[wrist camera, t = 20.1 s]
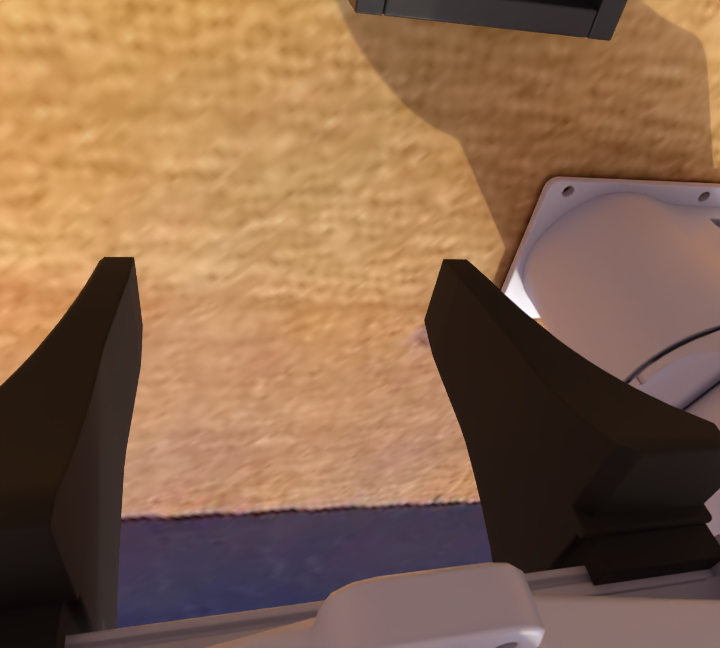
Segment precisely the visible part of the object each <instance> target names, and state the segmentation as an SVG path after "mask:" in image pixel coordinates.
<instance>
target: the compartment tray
mask: <svg viewBox="0 0 720 648" xmlns="http://www.w3.org/2000/svg"><path fill="white" fill-rule="evenodd" d="M349 2H350V4H351V6H352V7H353V9H354V11H355V12H356V13H364V14H373V15H382V14H384V15H385V16H393V17H402V18H412V19H421V20H430V21H439V22H448V23H457V24H466V25H475V26H484V27H493V28H502V29H511V30H520V31H529V32H538V33H547V34H556V35H565V36H575V37H587V38H590V39H599V40H608V41H609V40H611V38H612V36H613V33H614V31H615V28H616V26H617V24H618V21H619V19H620V17H621V14H622V12H623V9H624V7H625V5H626V2H627V0H349Z"/></svg>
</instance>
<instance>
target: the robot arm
mask: <svg viewBox="0 0 720 648" xmlns="http://www.w3.org/2000/svg"><path fill="white" fill-rule="evenodd" d="M568 186H570V187H569V189H568V190H566V191H564V192H563V190H564V189H565V188H566V187H568ZM702 193H703V194H702ZM701 194H702V195H701ZM532 318H541V319H542V321H543V323H544V324H545V326H546V328H547V330H548V331H549V332H548V331H547V330H546V329H544V328H543V327H542V326H541V325H539V324H538V323H537V322H536V321H535V320H533V319H532ZM425 325H426V329H427V334H428V339H429V343H430V347H431V351H432V355H433V358H434V360H435V363H436V366H437V368H438V371H439V374H440V376H441V379H442V381H443V384H444V386H445V389H446V392H447V394H448V397H449V399H450V402H451V404H452V407H453V409H454V412H455V414H456V417H457V420H458V422H459V425H460V427H461V430H462V433H463V436H464V439H465V442H466V446H467V449H468V453H469V457H470V461H471V464H472V468H473V472H474V476H475V480H476V484H477V488H478V493H479V497H480V501H481V505H482V510H483V515H484V519H485V524H486V529H487V534H488V539H489V544H490V549H491V555H492V561H493V563H480V564H472V565H465V566H457V567H449V568H441V569H433V570H426V571H418V572H410V573H402V574H394V575H386V576H379V577H374V578H369V579H365V580H361V581H357V582H353V583H350V584H348V585H346V586H344V587H342V588H340V589H338V590H336V591H334V592H332V593H331V594H330V596H329V597H328V598H327V599H326V600H325V601H318V602H311V603H303V604H296V605H289V606H281V607H274V608H266V609H259V610H252V611H244V612H237V613H229V614H222V615H215V616H207V617H200V618H192V619H185V620H178V621H170V622H163V623H155V624H148V625H141V626H133V627H126V628H118V629H116V627H117V595H118V571H119V547H120V528H121V509H122V493H123V477H124V464H125V456H126V448H127V443H128V437H129V431H130V425H131V420H132V414H133V408H134V403H135V397H136V391H137V385H138V379H139V373H140V367H141V353H142V329H143V324H142V316H141V308H140V300H139V292H138V284H137V276H136V268H135V260H134V257H104V258H103V259H101V260H100V261H99V263H98V265H97V266H96V268H95V270H94V272H93V273H92V275H91V277H90V278H89V280H88V281H87V283H86V285H85V286H84V288H83V289H82V291H81V292H80V294H79V295H78V297H77V298H76V300H75V301H74V302H73V304H72V305H71V306H70V308H69V309H68V311H67V312H66V313H65V315H64V316H63V317H62V319H61V320H60V321H59V323H58V324H57V325H56V326H55V328H54V329H53V330H52V331H51V332H50V334H49V335H48V336H47V337H46V338H45V340H44V341H43V342H42V343H41V344H40V346H39V347H38V348H37V349H36V350H35V351H34V353H33V354H32V355H31V356H30V357H29V358H28V359H27V360H26V361H25V362H24V363H23V364H22V365H21V366H20V367H19V368H18V369H17V370H16V371H15V372H14V373H13V374H12V375H11V376H10V377H9V378H8V379H7V380H6V381H5V382H4V383H3V384H2V385H1V386H0V648H720V184H716V183H694V182H672V181H649V180H627V179H605V178H583V177H561V176H558V177H554V178H551V179H550V180H549V181H548V182H546V184H545V186H544V188H543V190H542V193H541V195H540V197H539V200H538V202H537V205H536V207H535V209H534V212H533V214H532V217H531V219H530V222H529V224H528V226H527V229H526V231H525V234H524V236H523V238H522V241H521V243H520V246H519V248H518V251H517V253H516V255H515V258H514V260H513V263H512V265H511V267H510V270H509V272H508V275H507V277H506V280H505V282H504V284H503V287H502V289H501V290H500V289H499V288H498V287H496V286H495V285H494V284H493V283H492V282H491V281H490V280H489V279H488V278H487V277H486V276H485V275H483V274H482V273H481V272H480V271H479V270H478V269H477V268H476V267H475V266H473V265H472V264H471V263H470V262H469V261H468V260H462V259H443V262H442V265H441V269H440V272H439V275H438V278H437V281H436V285H435V288H434V291H433V294H432V297H431V300H430V304H429V307H428V310H427V313H426V316H425Z"/></svg>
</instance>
